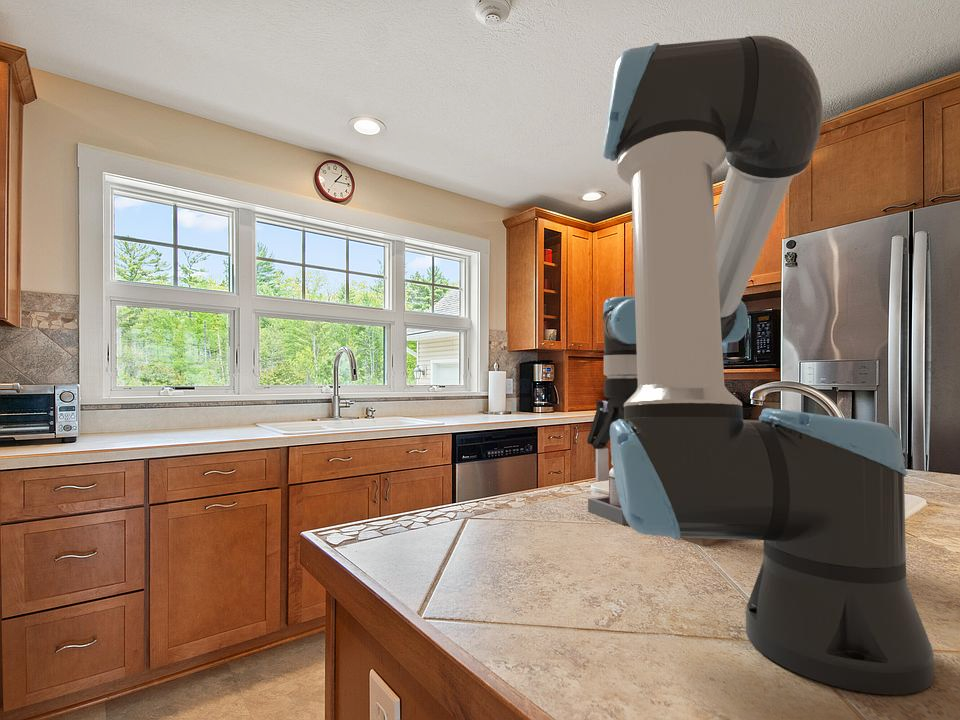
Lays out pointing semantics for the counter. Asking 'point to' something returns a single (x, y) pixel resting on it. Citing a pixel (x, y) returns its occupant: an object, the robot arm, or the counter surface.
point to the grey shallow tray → (606, 509)
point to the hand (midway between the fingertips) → (624, 487)
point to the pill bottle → (613, 490)
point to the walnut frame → (704, 540)
